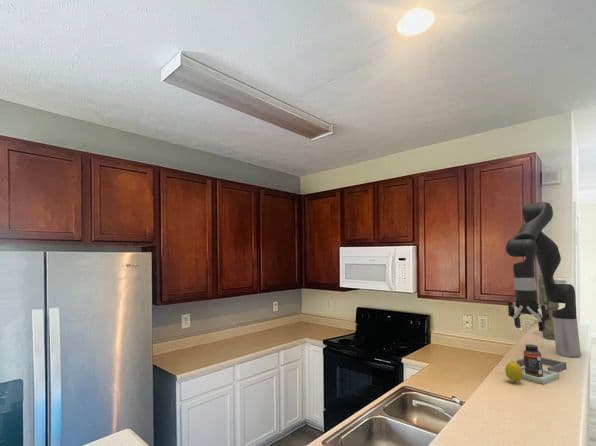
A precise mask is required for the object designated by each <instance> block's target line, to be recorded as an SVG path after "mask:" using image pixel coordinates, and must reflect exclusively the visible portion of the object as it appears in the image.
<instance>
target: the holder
mask: <svg viewBox="0 0 596 446" xmlns="http://www.w3.org/2000/svg"><path fill="white" fill-rule="evenodd" d="M516 363H517V364H519V365H520V367H522V366H525V365H524V357H523V358H521V359H518V360H516ZM542 365H545V366H549V367H547V370H548V371H552V372H557V373H560V372H562V371H564V370H567V362H565V361H559V360H556V359H551V358H545V357H542Z"/></svg>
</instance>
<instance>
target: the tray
mask: <svg viewBox="0 0 596 446" xmlns="http://www.w3.org/2000/svg"><path fill="white" fill-rule="evenodd" d="M521 369H522V374H523V375H522V379H521V380H524V381H529V382H532V383H535V384H538V385H542V386H544V385H547V384H550V383H551V382H554V381H556V380H559V379H560V372H552V371H548V369H543V376H541V377H535V376H531V375H528V374H526V373H525V365H524V366H521Z"/></svg>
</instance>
